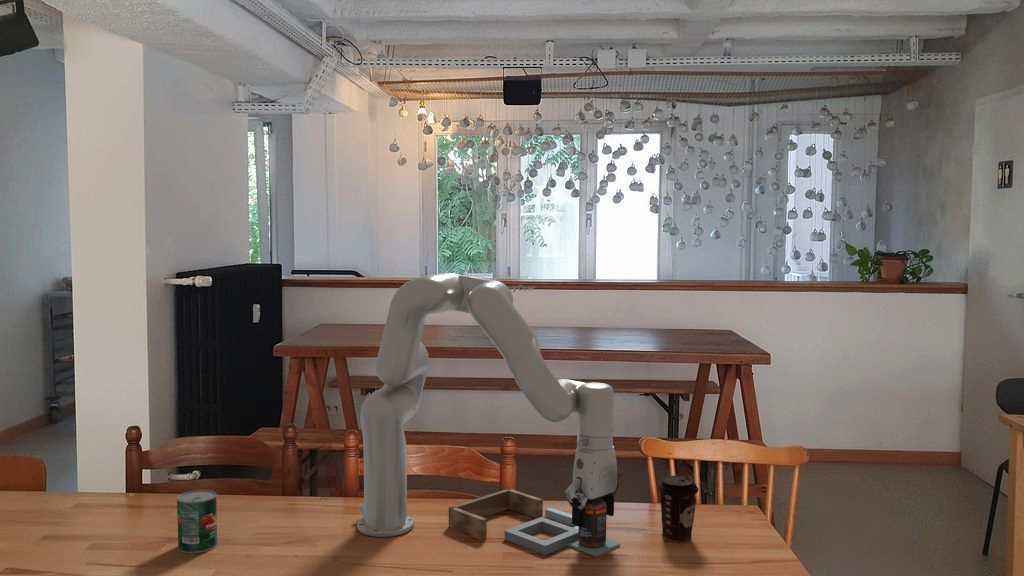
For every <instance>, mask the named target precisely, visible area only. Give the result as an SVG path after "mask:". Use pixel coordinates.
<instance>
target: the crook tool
mask: <svg viewBox="0 0 1024 576" xmlns="http://www.w3.org/2000/svg"><path fill="white" fill-rule="evenodd" d="M545 516H546V517H545ZM544 517H545V518H547V519H550V520H551V519H552V520H553V521H557V520H558V521H557V522H560V521H561V522H560V523H563V522H564V523H563V524H566V523H567V524H566V525H568V524H569V525H568V526H571V525H572V526H571V527H572V528H575V529H578V530H579V527H578V526H575V525H573V524H572V513H568V512H565V511H562V510H559V509H556V508H554V507H548V508H545V509H544ZM574 526H575V527H574Z"/></svg>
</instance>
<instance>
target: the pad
mask: <svg viewBox="0 0 1024 576" xmlns="http://www.w3.org/2000/svg"><path fill="white" fill-rule="evenodd" d="M566 547H568V548H572V549H574V550H577V551H580V552H582V553H586V554H588V555H591V556H594V557H596V558H597V557H599V556H601V555H603V554H606V553H608V552H610V551H613V550H614V549H617V548H619V547H621V543H620V542H617V541H615V540H611V539H609V538H606V543H605V544H604V545H603V546H600V547H586V546H583V545H581V544H580V543H579V539H576V540H574V541H572V542H569V543H567V546H566Z"/></svg>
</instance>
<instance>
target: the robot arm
mask: <svg viewBox="0 0 1024 576" xmlns="http://www.w3.org/2000/svg"><path fill="white" fill-rule="evenodd" d="M513 303H514V297H513V294H512V291H511V289H510V288H509V287H508V286H507V285H506V284H505V283H503V282H501V281H498V280H493V279H488V278H480V277H475V276H469V275H464V274H459V273H451V272H441V273H437V274H436V273H435V274H429V275H424V276H420V277H416V278H414V279H411V280H408V281H406V282H405V283H403V284H402V285H401V286H399V288H398V289H397V290H396V291H395V293H394V294H393V296H392V298H391V302H390V304H389V308H388V312H387V318H386V322H385V325H384V328H383V332H382V333H383V334H382V337H381V341H380V345H379V349H378V353H377V357H376V362H375V372H376V376H377V377H378V378H379V380H380V381H381V383H383V386H382V387H380V388H378V389H377V390H375V391H373V392H372V393H370V394H369V395H368V396H367V397H366V398H365V400H364V401H363V403H362V405H361V409H360V412H359V414H360V415H359V418H360V427H361V433H362V442H363V443H362V444H363V445H362V446H363V501H362V504H359V505H358V506H357V510H358V511H360V512H362V518H360V519H359V520H358V521H357V525H356V526H357V530H358V531H359V532H360V533H361V534H363V535H364V536H365V535H366V536H369V537H378V538H383V537H387V538H388V537H395V536H399V535H400V536H401V535H403V534H406V533H408V532H410V531H411V530H412V529H413V527H414V525H415V524H414V523H415V521H414V519H413V517H411V516H409V515H408V512H407V511H408V510H407V509H408V503H407V502H408V495H407V494H408V493H407V492H408V491H407V488H408V487H407V486H408V484H407V483H408V479H407V477H408V475H407V473H408V471H407V469H408V468H407V465H408V464H407V461H408V460H407V457H408V456H407V442H406V441H407V440H406V435H405V430H404V424H405V423H406V422H408V421H409V420H411V418H412V417H414V416H415V414H416V413H417V411H418V408H419V406H420V403H421V400H422V399H421V398H422V395H423V391H424V390H423V389H424V386H425V382H426V378H427V374H428V369H429V365H430V364H429V362H430V358H429V352H428V350H427V348H426V347H425V345H424V343H422V339H423V335H424V331H425V321H426V320H425V319H426V317H427V316H429V315H433V314H434V315H435V314H440V313H444V312H447V311H454V312H460V313H466V314H470V315H471V317H472V318H473V320H474V321H475V322H476V324H477V325H478V326H479V328H480V329H481V330H482V331H483V333H484V334H485V335H486V336H487V338H488V339H489V341H490V342H491V344H493V346H494V347H495V348H496V349H497V351H498V352H499V353H500V355H501V356H502V357H503V359H504V361H505V363H506V365H507V368H508V369H509V371H510V373H511V375H512V377H513V378H514V381H515V383H516V385H517V386H518V387H519V390H520V391H521V392H522V394H523V395H524V396H525V398H526V399H527V400H528V402H529V403H530V404H531V405H532V408H534V409H535V410H536V412H537V413H538V414H539V415H540V417H542V418H544V419H545V420H547V421H548V422H551V423H561V422H563V421H566V420H567V419H568V418H569V417H570V416H571V415H572V414H573V413H576V414H577V433H576V434H577V436H576V437H577V438H576V449H575V450H576V451H575V456H574V462H573V472H572V483H571V484H570V485H569V486H568V487H567V488H566V489H565V495H566V497H567V502H568V503H569V506H570V507H571V514H572V524H573V525H575V526H578V527H581V528H584V527H585V519H586V509H584V506H585V504H586V501H587V499H591V500H592V499H596V498H598V497H601V496H602V500H603V501H604V502H605V503H606V516H609V517H614V516H615V498H616V496H617V493H616V492H617V490H618V488H619V483H620V480H621V476H622V475H621V474H620V473H619V472H618V465H617V456H616V449H615V446H614V439H613V438H614V409H615V408H614V403H615V402H614V400H615V394H614V393H615V392H614V388H613V387H612V385H610V384H607V383H603V382H582V381H577V380H572V379H568V378H567V379H566V378H558V379H557V378H556V376H555V375H554V374H553V373H552V371H551V370H550V368H549V367H548V365H547V364H546V362H545V360H544V358H543V356H542V353H541V350H540V349H541V348H540V345H539V340H538V337H537V335H536V332H535V331H534V330H533V329H532V328H531V326H530V325H529V324H528V323H527V321H526V320H525V319H524V318H523V316H522V315H521V313H520V312H519V311H518V310H517V308H516V307H515V305H514V304H513ZM579 498H581V500H580V501H579Z"/></svg>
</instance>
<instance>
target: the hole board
mask: <svg viewBox="0 0 1024 576" xmlns="http://www.w3.org/2000/svg"><path fill="white" fill-rule="evenodd" d="M540 530H541V531H543V530H544V532H546V531H547V532H546V533H549V534H551V535H555V536H552V537H550V538H547V539H545V540H544V539H541V538H539V537H536V536H533V534H535V533H534V532H536V533H538V532H541V531H540ZM503 532H504V539H506V540H505V541H507V540H508V541H507V542H510V541H511V542H510V543H512V542H513V543H512V544H515V543H516V544H515V545H517V544H518V545H517V546H520V545H521V546H520V547H523V546H524V548H525V547H526V548H525V549H528V548H529V550H530V549H531V551H533V550H534V551H533V552H535V553H538V552H539V553H538V554H541V555H544V556H546V555H549V554H551V553H552V554H553V553H554V552H556V551H558V550H561V549H563V548H565V547H568V546H567V543H569V542H572V541H574V540H576V539H579V530H578V529H575V528H573V526H570V525H568V524H565V523H562V522H559V521H556V520H553V519H552V520H551V519H550V518H547V517H544V516H543V517H540V518H534V519H533V520H529V521H527V522H524V523H522V524H519V525H516V526H514V527H510V528H508V529H505V530H504V531H503ZM532 533H533V534H532ZM530 534H531V535H530Z"/></svg>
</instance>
